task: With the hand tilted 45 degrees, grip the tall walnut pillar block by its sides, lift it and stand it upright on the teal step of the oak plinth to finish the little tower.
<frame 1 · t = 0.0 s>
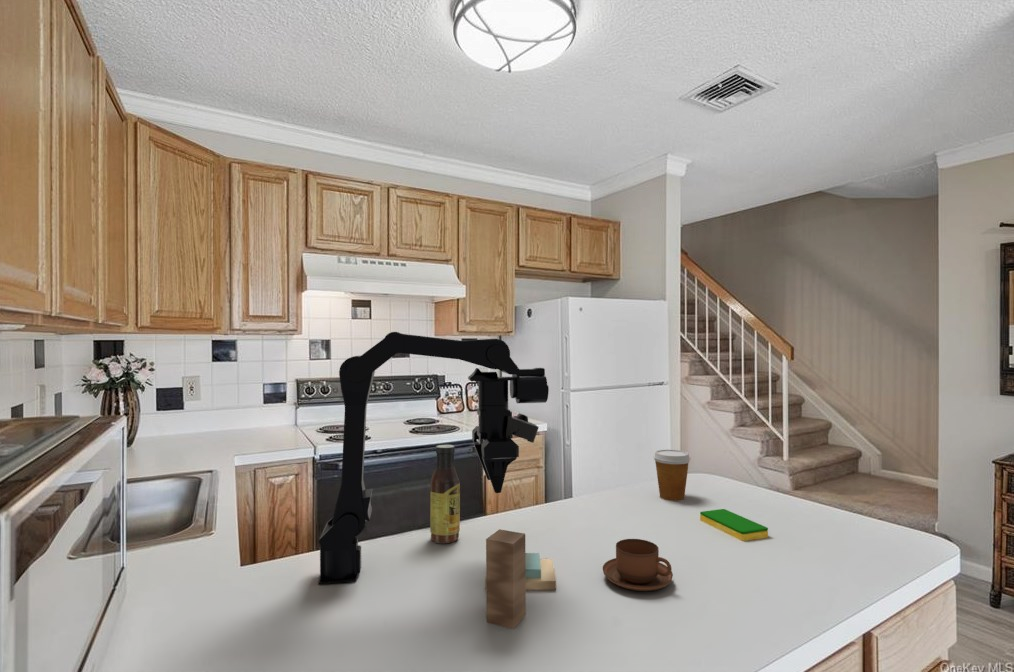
hand: (493, 485, 101), 15 cm above the counter, tool pointing down, fingers open, 9 cm apart
pillar: (506, 618, 81), on the counter
plinth: (520, 577, 94), on the counter
cup and saucer: (637, 582, 93), on the counter
disposable coffee cup: (672, 498, 142), on the counter
sauce bottle: (445, 540, 113), on the counter
dish sponge: (732, 530, 119), on the counter
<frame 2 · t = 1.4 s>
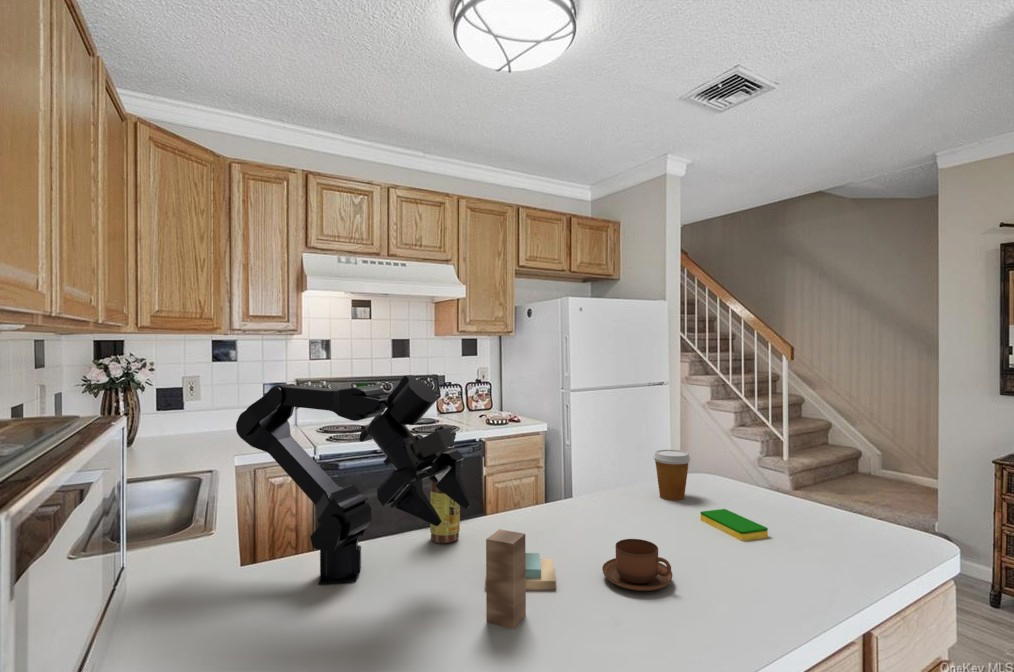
hand: (454, 515, 86), 14 cm above the counter, tool tilted 45°, fingers open, 9 cm apart
nothing on the counter moved.
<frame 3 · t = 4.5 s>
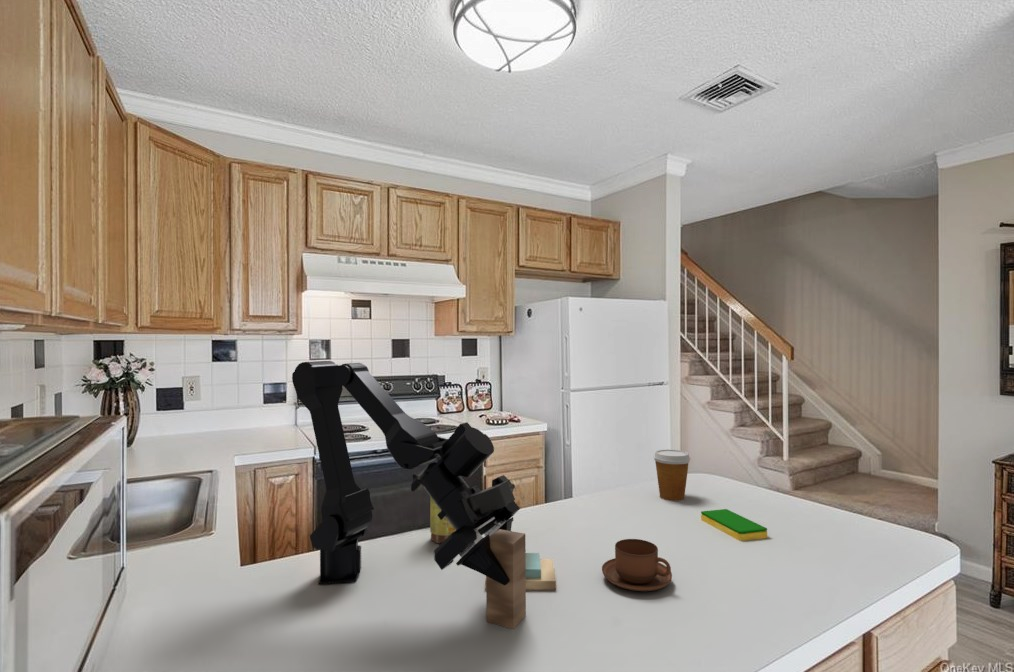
hand: (514, 576, 80), 7 cm above the counter, tool tilted 45°, fingers closed on pillar, 4 cm apart
pillar: (506, 618, 81), on the counter, touching gripper
everything else where it was.
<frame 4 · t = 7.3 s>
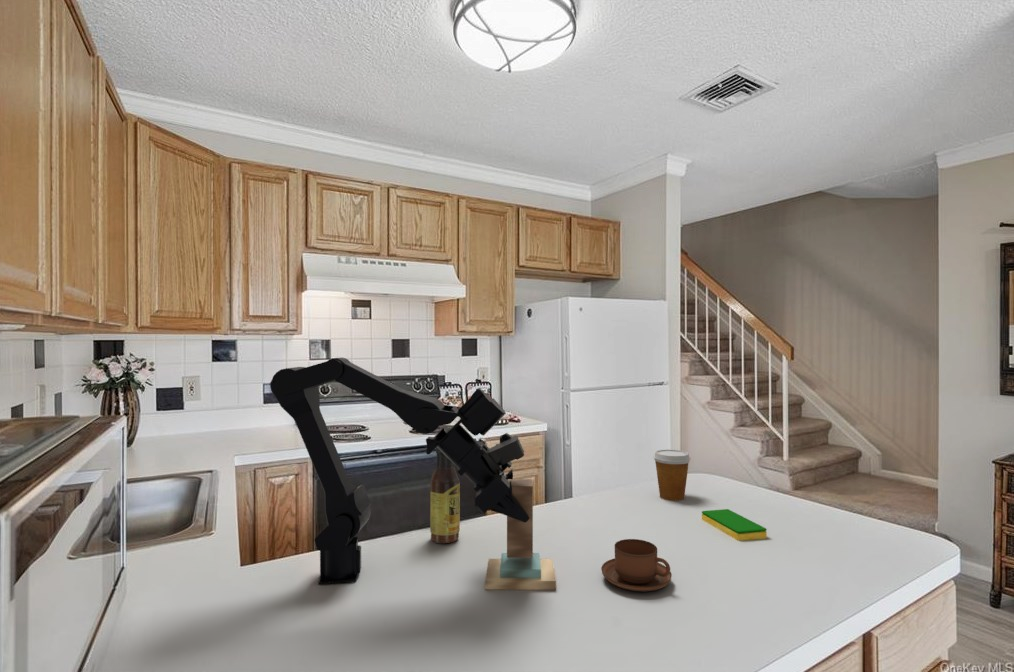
hand: (527, 515, 94), 11 cm above the counter, tool tilted 45°, fingers closed on pillar, 4 cm apart
pillar: (519, 552, 94), point 4 cm above the counter, touching gripper
everything else where it was.
when the fingers open (10 cm above the counter, at t = 7.8 s): pillar stays where it is, resting on plinth.
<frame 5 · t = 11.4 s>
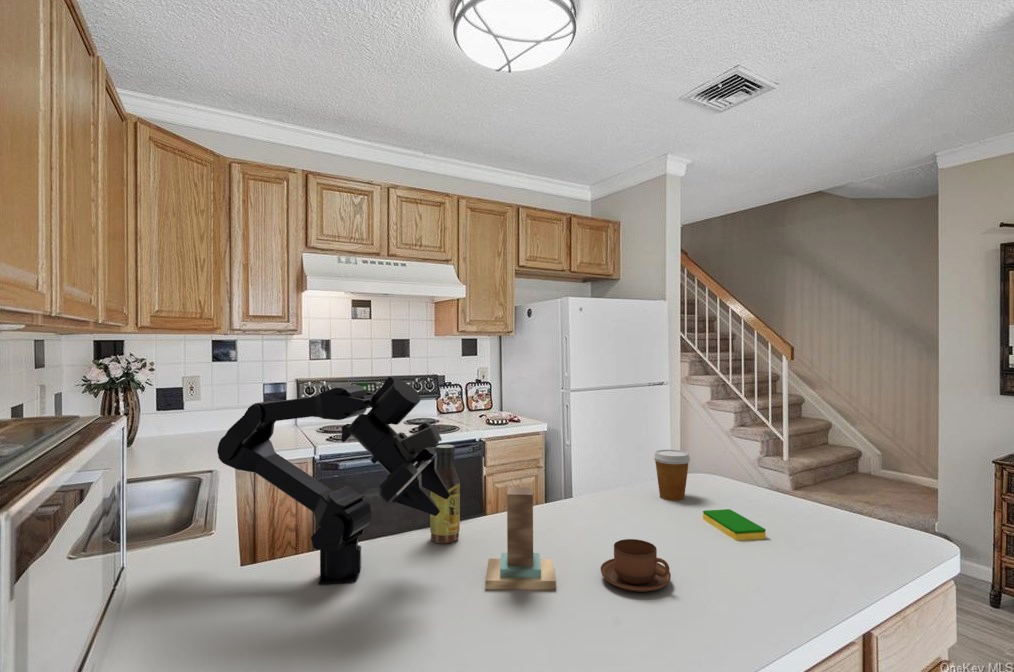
hand: (443, 505, 93), 14 cm above the counter, tool tilted 45°, fingers open, 9 cm apart
pillar: (520, 560, 94), point 3 cm above the counter, touching plinth
everything else where it was.
at the end: pillar inside the target area on the plinth (0.0 cm from its centre), point 3.0 cm above the plinth's base; pillar tilted 0°; the gripper is holding nothing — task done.
